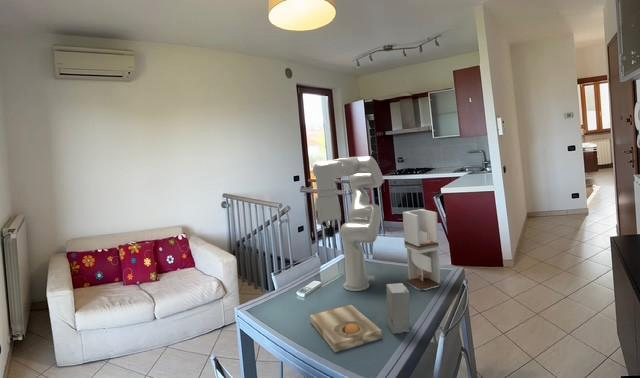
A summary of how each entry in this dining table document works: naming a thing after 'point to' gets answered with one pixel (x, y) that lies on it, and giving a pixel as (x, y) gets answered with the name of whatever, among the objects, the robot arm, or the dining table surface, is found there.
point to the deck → (335, 323)
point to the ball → (351, 329)
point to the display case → (422, 248)
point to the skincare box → (397, 308)
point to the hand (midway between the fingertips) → (330, 236)
